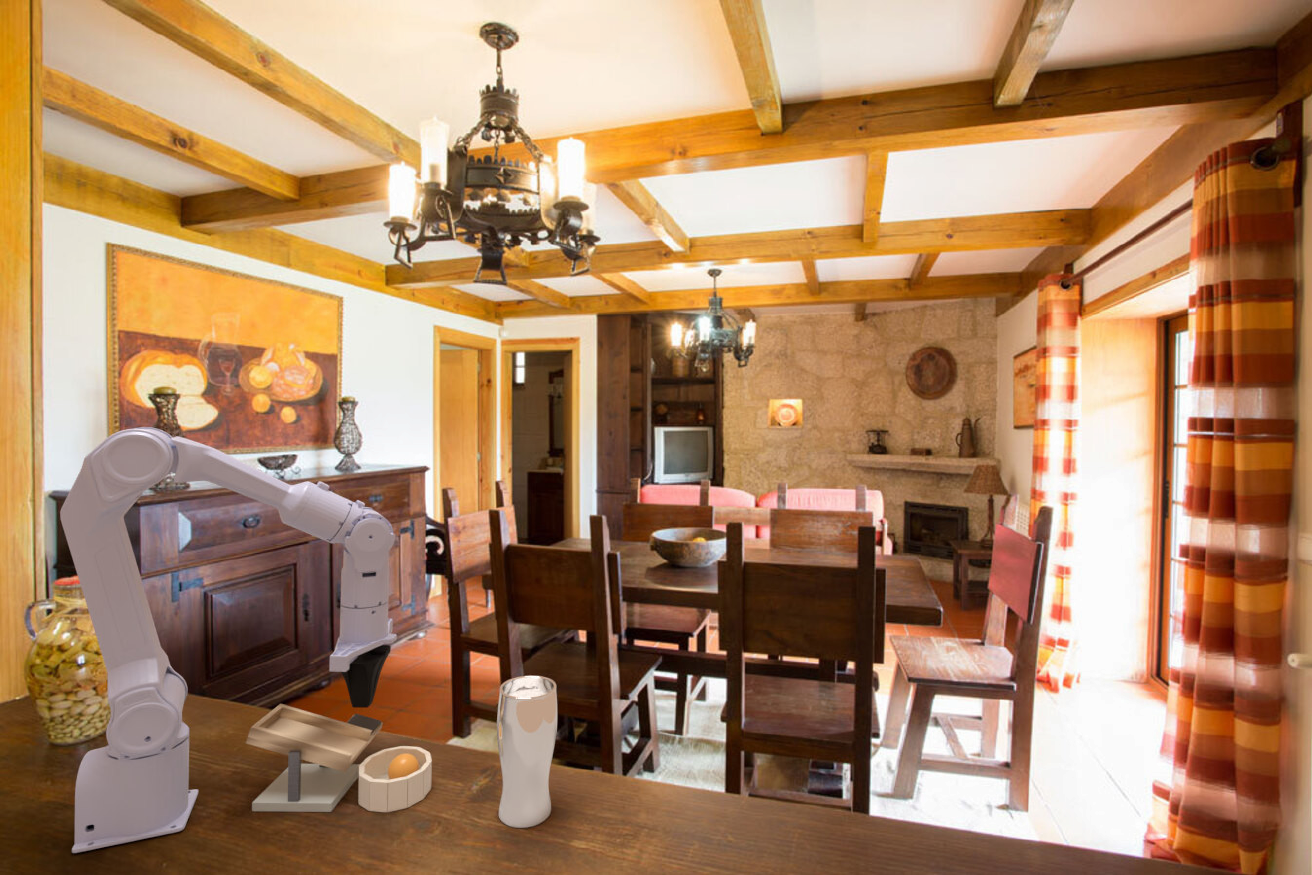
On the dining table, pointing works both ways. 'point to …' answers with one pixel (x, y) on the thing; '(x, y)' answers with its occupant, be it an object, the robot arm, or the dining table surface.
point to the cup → (393, 781)
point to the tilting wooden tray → (314, 736)
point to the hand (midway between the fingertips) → (362, 705)
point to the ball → (402, 766)
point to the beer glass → (526, 748)
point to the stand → (306, 787)
